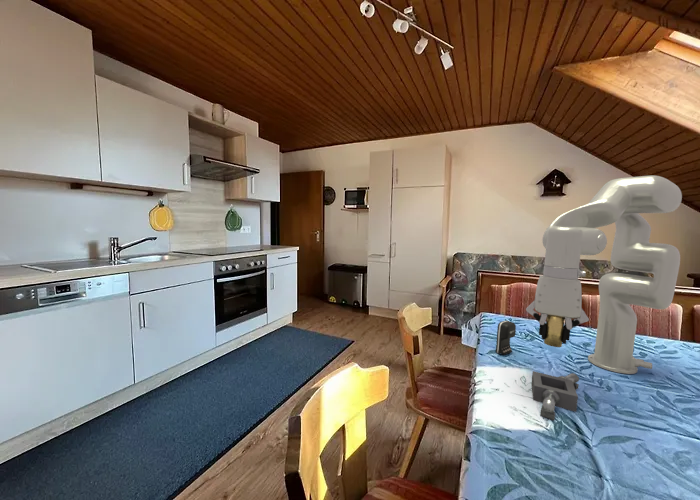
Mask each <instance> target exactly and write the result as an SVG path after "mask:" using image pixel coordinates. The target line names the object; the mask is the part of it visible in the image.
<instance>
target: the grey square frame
mask: <svg viewBox="0 0 700 500" xmlns="http://www.w3.org/2000/svg"><path fill="white" fill-rule="evenodd" d="M531 374H532V375H531V382H530V383H531V394H532V395H531V396H532V400H533V401H535V402H537V403H538V402H539V403H542V404H543V401H544V400H543V398H542V394H543V391H544V390H546V389H551V390H554V391H555V392H557V393H558V395H559V397H560V400H559V403H558V404H557V405H555V408H560V409H563V410H567V411H571V412H575V413H577V409H578V400H579V396H578V393H577V391H576V390H575V387H574V385H573V382H572V380H565V379H563V378H560V377H559V376H554V375H551V374H546V373H542V372H538V371H532V373H531Z"/></svg>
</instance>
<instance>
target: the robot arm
mask: <svg viewBox="0 0 700 500" xmlns="http://www.w3.org/2000/svg"><path fill="white" fill-rule="evenodd" d="M682 198H683V193H682V190H681V189H680V187H679V186H678V185H676V183H674V182H672V181H671V180H669V179H668V178H665V177H663V176H659V175H642V176H641V175H640V176H631V177H629V176H628V177H621V178H615V179H611V180H608V181H607V182H606V183H605V184H604V185H602V187H601V188H600V189H598V191H597V192H596V194H595V195H594V196H593V197H592V198H591V199H590V200H589V202H588V203H586V204H583V205H581V206H577V207H575V208H573V209H571V210H569V211H566V212H564V213H562V214H561V215H559V216H557V217H556V218H555V219H554V220H553V221H552V222H551V223H550V225H548V226H547V228H546V230H545V231H544V233H543V236H542V239H541V241H542V242H541V243H542V245H543V247H544V249H545V254H544V263H543V264H544V266H543V272H542V273H543V274H542V275H539V277H538V280H537V283H536V287H535V288H536V290H535V295H534V300H533V301H532V302H531V303H530V304H528V306H527V307H526V308H525V311H526V312H527V313H528V314H530V315H531V316H532V317H534V319H535V320H536V321H537V322H538V324H539V329H538V331H539V332H538V335H539V336H541V340H543V341H544V339H545V336H546V318H547V315H553V316H559V317H565V321H564V330H563V339H562V345H563V344H564V345H567V341H570V336H571V330H573V328H575V327H577V326H579V325H581V324H584V323H586V322H587V323H588V322H590V318H589V317H588V315H587V314H586V312H585V311H584V309H583V308H582V302H583V301H582V295H583V294H582V293H583V292H582V290H583V289H582V283H581V280H580V279H579V278H581V277H583V278H584V277H586V274H587V273H586V271H583V270H581V269H580V261H581V256H597V255H598V254H600V253H602V252H603V251H604V250H605V249H606V247H607V244H608V238H607V235H606V234H605V232H604V231H602V230H601V229H600V228H602V227H606V226H610V225H612V224H615V232H614V237H613V238H614V239H613V243H612V247H611V251H610V253H611V254H610V264H611V266H612V267H614V268H616V269H620V270H624V271H631V272H640V273H648V274H652V275H653V277H651V276H643V275H636V274H628V273H620V272H608V273H606V274H604V275H602V276H601V277H600V278H599V281H598V293H599V295H598V296H599V312H598V320H597V329H596V336H595V345H594V353H590V354H588V355H587V359H588V361H589V363H591V364H593V365H595V366H597V367H599V368H601V369H604V370H607V371H611V372H615V373H617V374H618V373H619V374H624V375H634V374H636V373H638V370H639V369H638V368H639V367H641V368H645V369H649V370H652V369H653V363H652V362H648V361H644V359H641V358H636V357H634V347H635V340H636V339H635V338H636V334H637V333H636V332H637V325H638V317H637V314H636V312H635V311H634V309H633V308H632V307H631V305H633V306H638V307H643V308H649V309H653V310H666V309H668V308H669V307H670V306H671V304H672V302H673V299H674V295H675V292H676V291H675V290H676V286H677V280H678V276H679V271H680V266H681V254H680V250H679V248H677V246H674V245H672V244H669V243H668V244H667V243H657V242H650V239H651V233H652V226H651V225H650V223H649V222H648V220H647V219H645V217H644V216H642V215H641V214H667V213H672V212H674V211H676V210H678V208H679V207H680V205H681V203H682V200H683V199H682ZM539 313H540V314H539Z"/></svg>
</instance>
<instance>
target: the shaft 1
mask: <svg viewBox="0 0 700 500" xmlns="http://www.w3.org/2000/svg"><path fill="white" fill-rule="evenodd" d="M542 398H543V400H544V401H543V403H542V405H541V407H540V412H539V413H540V414H539V415H540V417H542V418H545V419H548V420H551V421H555V417H556V412H555V408H556V406H555V405H557V404H558V403H559V400H560V397H559V395H558V393H557V392H555V391H554V390H551V389H546V390H544V391H543V394H542Z"/></svg>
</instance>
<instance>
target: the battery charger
mask: <svg viewBox="0 0 700 500" xmlns="http://www.w3.org/2000/svg"><path fill="white" fill-rule="evenodd" d="M496 330H497V331H496V344H495V353H497V354H499V355H504V356H506V355H508V354H510V353H512V352H513V349H512V347H511V344H510V343H511V338H514V337H516V330H517V325H516V323H514V322H513V321H510V320H503V321H500V322H499V323H498V325H497V329H496Z"/></svg>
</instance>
